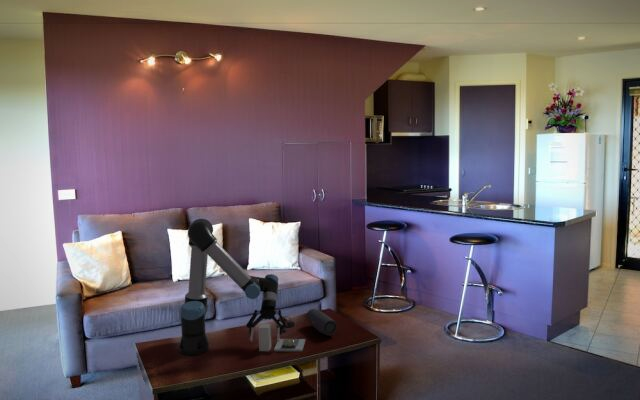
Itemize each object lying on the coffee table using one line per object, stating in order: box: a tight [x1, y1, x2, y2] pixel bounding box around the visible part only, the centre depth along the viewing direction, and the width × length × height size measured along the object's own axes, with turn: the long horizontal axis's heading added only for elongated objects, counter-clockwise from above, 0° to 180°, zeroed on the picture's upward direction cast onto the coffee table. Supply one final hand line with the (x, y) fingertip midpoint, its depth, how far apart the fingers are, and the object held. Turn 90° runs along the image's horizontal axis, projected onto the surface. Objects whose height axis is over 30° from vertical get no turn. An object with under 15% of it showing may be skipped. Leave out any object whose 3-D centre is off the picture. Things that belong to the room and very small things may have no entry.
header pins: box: [281, 340, 296, 348], centre depth 262 cm, size 7×2×4 cm, turn 85°
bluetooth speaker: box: [305, 308, 338, 336], centre depth 287 cm, size 23×9×10 cm, turn 25°
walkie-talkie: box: [276, 315, 295, 332], centre depth 298 cm, size 9×4×20 cm
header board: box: [273, 338, 306, 352], centre depth 267 cm, size 14×14×1 cm
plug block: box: [258, 323, 272, 352], centre depth 264 cm, size 5×6×12 cm
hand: (264, 340), depth 262 cm, fingers open, 13 cm apart
